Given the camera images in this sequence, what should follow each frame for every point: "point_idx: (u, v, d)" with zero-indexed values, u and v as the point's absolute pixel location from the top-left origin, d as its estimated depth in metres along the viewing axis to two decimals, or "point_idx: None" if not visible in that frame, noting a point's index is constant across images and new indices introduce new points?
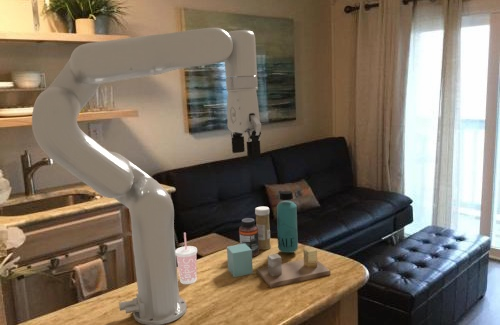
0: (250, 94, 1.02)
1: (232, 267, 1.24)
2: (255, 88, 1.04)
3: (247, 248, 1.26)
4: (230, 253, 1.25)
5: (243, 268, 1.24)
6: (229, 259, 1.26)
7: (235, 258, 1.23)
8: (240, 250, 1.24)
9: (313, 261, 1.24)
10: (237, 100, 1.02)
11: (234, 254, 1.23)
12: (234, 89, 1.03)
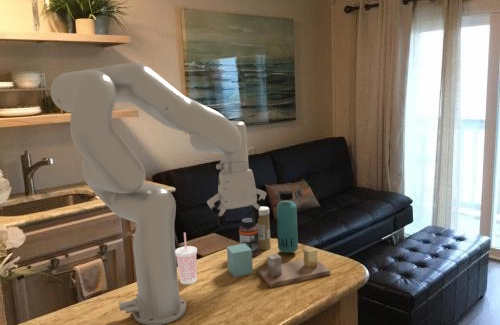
0: None
1: (232, 267, 1.24)
2: None
3: (247, 248, 1.26)
4: (230, 253, 1.25)
5: (243, 268, 1.24)
6: (229, 259, 1.26)
7: (235, 258, 1.23)
8: (240, 250, 1.24)
9: (313, 261, 1.24)
10: (249, 178, 1.21)
11: (234, 254, 1.23)
12: (246, 170, 1.20)
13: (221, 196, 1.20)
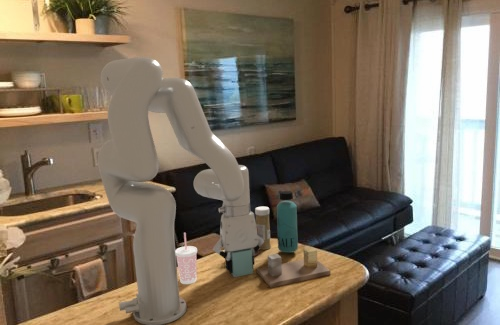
0: None
1: (232, 267, 1.24)
2: None
3: None
4: None
5: (243, 268, 1.24)
6: None
7: (235, 258, 1.23)
8: (240, 250, 1.24)
9: (313, 261, 1.24)
10: (251, 222, 1.23)
11: (234, 254, 1.23)
12: (248, 213, 1.22)
13: (223, 239, 1.22)
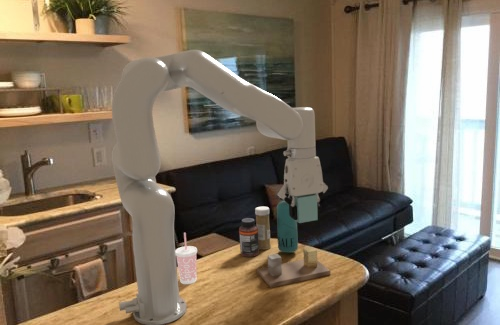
0: None
1: (297, 213, 1.21)
2: None
3: (311, 194, 1.22)
4: None
5: (308, 214, 1.21)
6: None
7: (300, 203, 1.19)
8: (305, 195, 1.21)
9: (313, 261, 1.24)
10: (316, 166, 1.19)
11: (300, 199, 1.19)
12: (314, 157, 1.18)
13: (289, 183, 1.18)
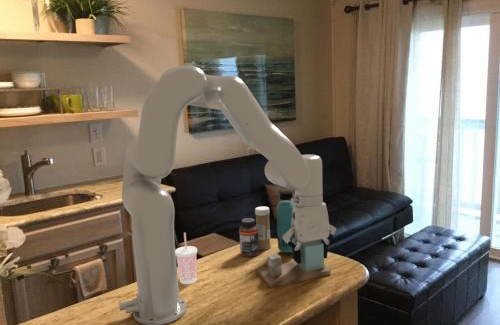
0: None
1: (304, 261, 1.23)
2: None
3: (318, 242, 1.24)
4: (301, 247, 1.23)
5: (315, 262, 1.23)
6: None
7: (307, 252, 1.22)
8: (312, 244, 1.23)
9: None
10: (323, 212, 1.21)
11: (307, 248, 1.21)
12: (321, 204, 1.21)
13: (296, 230, 1.20)
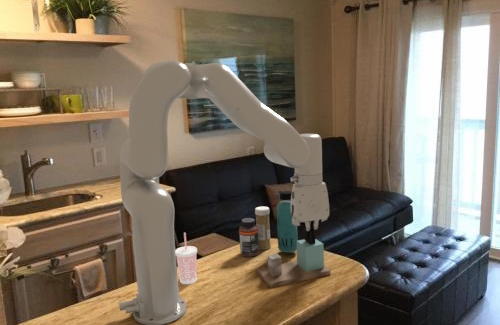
0: None
1: (304, 261, 1.23)
2: None
3: (318, 242, 1.24)
4: (301, 247, 1.23)
5: (315, 262, 1.23)
6: (299, 253, 1.25)
7: (307, 252, 1.22)
8: (312, 244, 1.23)
9: None
10: (323, 192, 1.20)
11: (307, 248, 1.21)
12: (321, 183, 1.19)
13: (295, 209, 1.19)
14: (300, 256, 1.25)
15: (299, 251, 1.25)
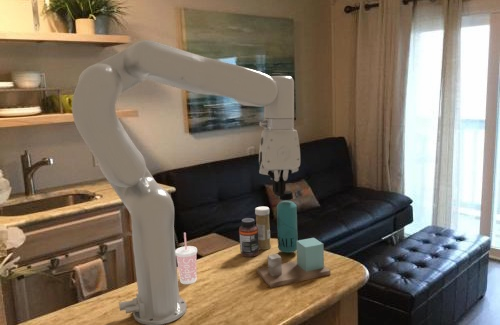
0: None
1: (304, 261, 1.23)
2: None
3: (318, 242, 1.24)
4: (301, 247, 1.23)
5: (315, 262, 1.23)
6: (299, 253, 1.25)
7: (307, 252, 1.22)
8: (312, 244, 1.23)
9: None
10: (294, 139, 1.12)
11: (307, 248, 1.21)
12: (292, 129, 1.11)
13: (263, 156, 1.11)
14: (300, 256, 1.25)
15: (299, 251, 1.25)
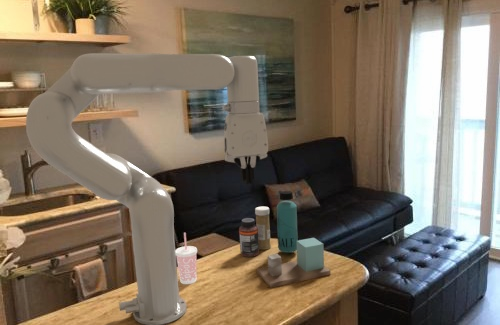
0: None
1: (304, 261, 1.23)
2: None
3: (318, 242, 1.24)
4: (301, 247, 1.23)
5: (315, 262, 1.23)
6: (299, 253, 1.25)
7: (307, 252, 1.22)
8: (312, 244, 1.23)
9: None
10: (260, 123, 1.05)
11: (307, 248, 1.21)
12: (257, 112, 1.04)
13: (227, 142, 1.04)
14: (300, 256, 1.25)
15: (299, 251, 1.25)
